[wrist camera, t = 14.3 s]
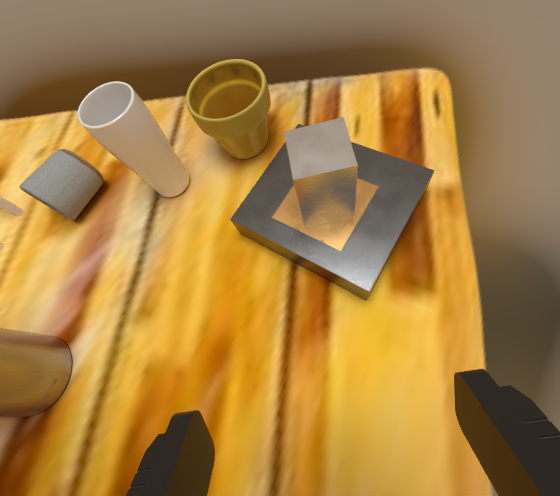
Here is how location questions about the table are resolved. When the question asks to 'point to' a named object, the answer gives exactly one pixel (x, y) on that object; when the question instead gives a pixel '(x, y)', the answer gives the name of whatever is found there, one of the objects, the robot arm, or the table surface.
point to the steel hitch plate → (342, 235)
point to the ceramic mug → (64, 183)
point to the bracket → (10, 210)
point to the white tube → (133, 136)
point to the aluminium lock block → (323, 172)
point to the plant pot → (232, 106)
